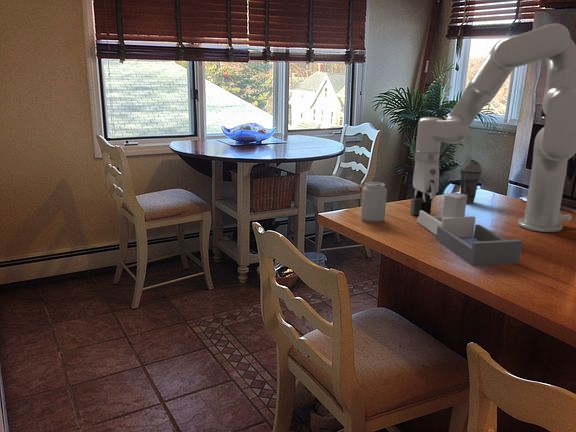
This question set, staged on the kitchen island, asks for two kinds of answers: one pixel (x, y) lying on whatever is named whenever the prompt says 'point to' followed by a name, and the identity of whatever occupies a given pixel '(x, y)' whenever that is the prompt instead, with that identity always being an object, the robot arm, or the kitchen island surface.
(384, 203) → the can
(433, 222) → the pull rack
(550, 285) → the kitchen island surface
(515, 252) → the tray
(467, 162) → the beverage cup
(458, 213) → the skincare box
